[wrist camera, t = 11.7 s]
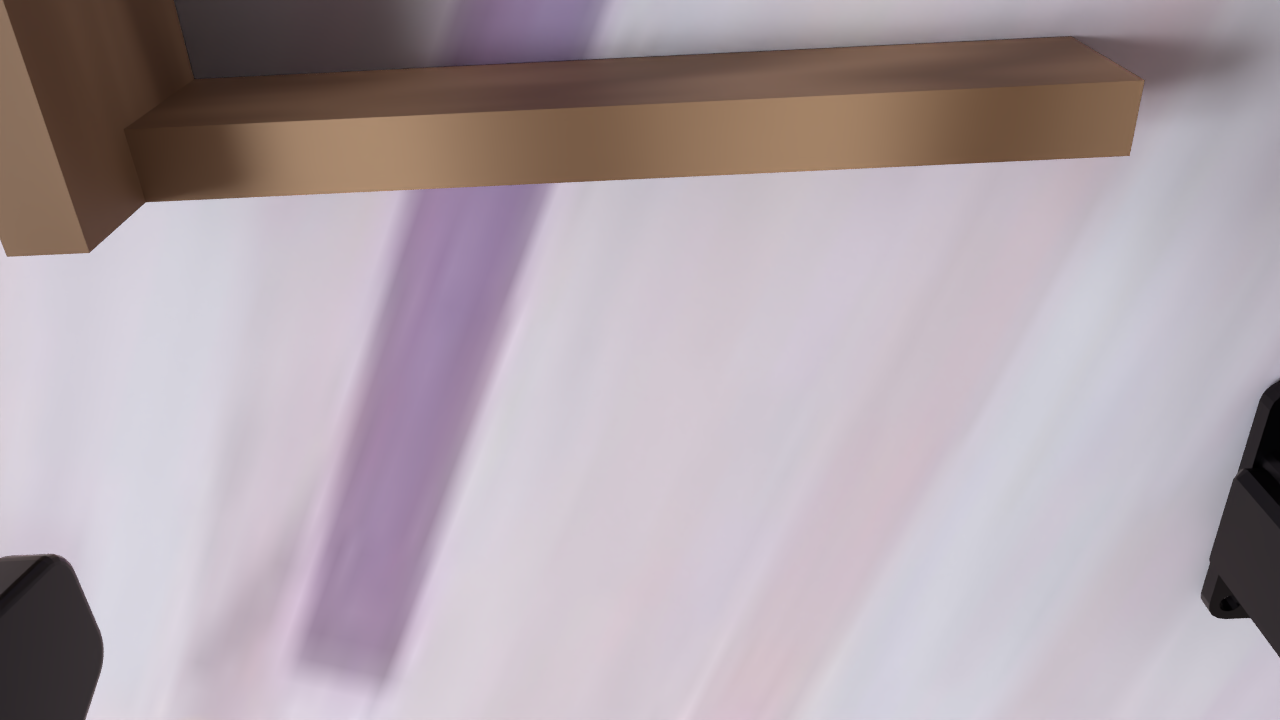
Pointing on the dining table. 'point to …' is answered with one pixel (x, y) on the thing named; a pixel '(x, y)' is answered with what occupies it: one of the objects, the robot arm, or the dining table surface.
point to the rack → (500, 118)
